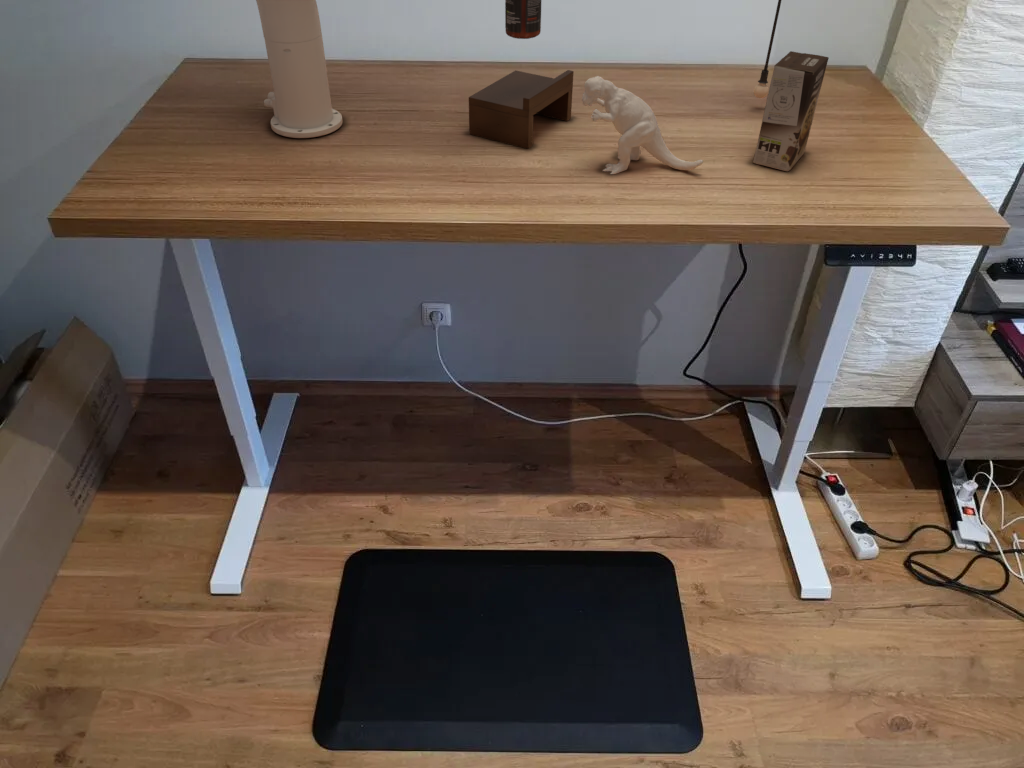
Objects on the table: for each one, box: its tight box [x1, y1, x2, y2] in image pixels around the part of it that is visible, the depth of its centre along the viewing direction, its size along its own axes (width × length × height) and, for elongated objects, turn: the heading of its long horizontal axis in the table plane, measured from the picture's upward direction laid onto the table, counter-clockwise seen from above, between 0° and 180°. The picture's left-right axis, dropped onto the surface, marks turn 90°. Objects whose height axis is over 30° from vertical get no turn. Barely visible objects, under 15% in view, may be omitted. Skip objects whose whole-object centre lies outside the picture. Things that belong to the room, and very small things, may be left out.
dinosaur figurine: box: [581, 75, 704, 175], centre depth 128 cm, size 20×10×15 cm, turn 79°
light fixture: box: [753, 0, 782, 99], centre depth 145 cm, size 7×7×25 cm
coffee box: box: [752, 50, 829, 172], centre depth 130 cm, size 9×6×16 cm
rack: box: [468, 69, 574, 150], centre depth 142 cm, size 12×16×9 cm
